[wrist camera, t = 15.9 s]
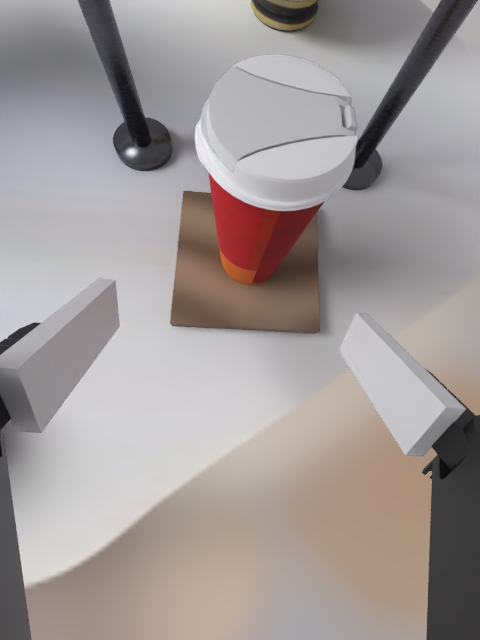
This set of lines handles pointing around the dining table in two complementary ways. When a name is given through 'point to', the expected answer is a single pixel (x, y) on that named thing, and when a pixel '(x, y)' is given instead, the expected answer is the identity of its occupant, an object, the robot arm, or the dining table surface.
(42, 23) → the dining table surface
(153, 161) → the frame
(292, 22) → the amphora
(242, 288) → the walnut board
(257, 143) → the paper cup
